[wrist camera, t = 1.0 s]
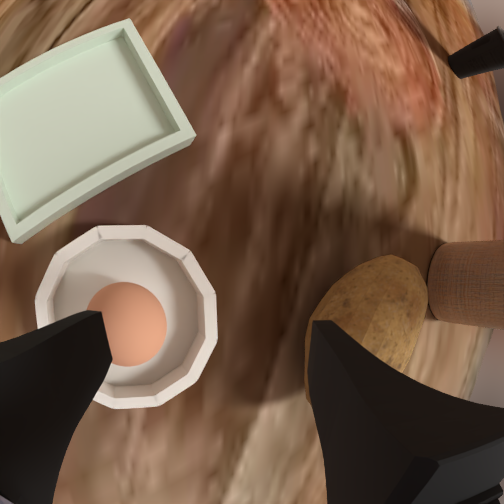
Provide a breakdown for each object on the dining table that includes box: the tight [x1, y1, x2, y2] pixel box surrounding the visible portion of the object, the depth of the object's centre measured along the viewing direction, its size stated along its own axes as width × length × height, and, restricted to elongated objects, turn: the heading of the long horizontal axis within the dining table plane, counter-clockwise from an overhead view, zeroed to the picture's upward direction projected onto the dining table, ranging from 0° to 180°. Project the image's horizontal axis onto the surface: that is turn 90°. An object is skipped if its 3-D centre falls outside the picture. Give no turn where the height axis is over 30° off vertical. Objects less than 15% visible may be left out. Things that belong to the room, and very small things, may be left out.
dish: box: [35, 225, 218, 409], centre depth 18 cm, size 12×12×2 cm
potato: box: [304, 254, 428, 406], centre depth 22 cm, size 10×14×8 cm
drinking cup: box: [448, 26, 504, 79], centre depth 31 cm, size 8×8×20 cm
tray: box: [0, 18, 196, 244], centre depth 17 cm, size 14×12×2 cm
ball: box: [86, 282, 167, 367], centre depth 17 cm, size 5×5×5 cm
